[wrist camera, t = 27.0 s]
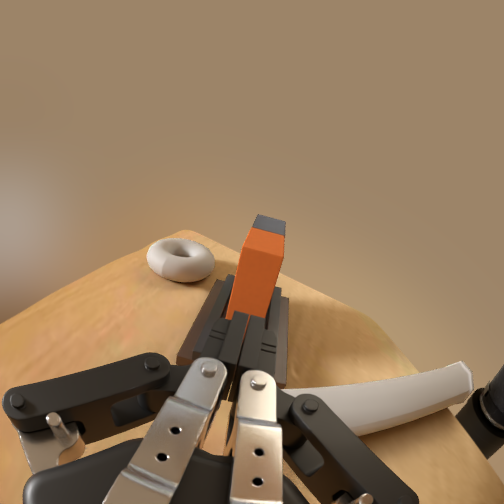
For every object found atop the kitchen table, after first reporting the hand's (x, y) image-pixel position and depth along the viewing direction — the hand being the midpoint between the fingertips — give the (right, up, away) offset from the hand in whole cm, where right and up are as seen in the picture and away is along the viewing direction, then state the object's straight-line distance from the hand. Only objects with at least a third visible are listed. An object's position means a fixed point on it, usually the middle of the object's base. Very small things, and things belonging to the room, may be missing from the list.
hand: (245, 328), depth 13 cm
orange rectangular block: (-1, -4, +17) cm, 17 cm away
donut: (-10, +1, +28) cm, 30 cm away
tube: (+11, -12, +8) cm, 19 cm away
